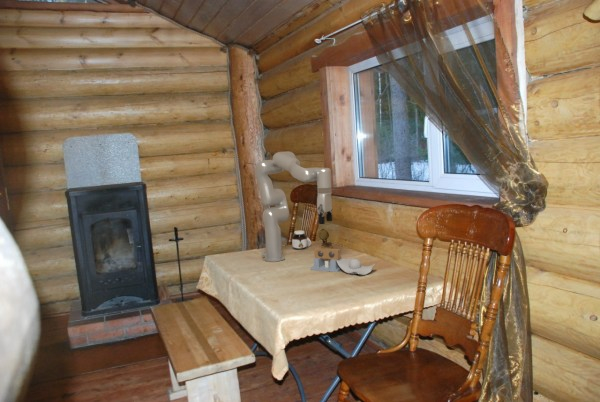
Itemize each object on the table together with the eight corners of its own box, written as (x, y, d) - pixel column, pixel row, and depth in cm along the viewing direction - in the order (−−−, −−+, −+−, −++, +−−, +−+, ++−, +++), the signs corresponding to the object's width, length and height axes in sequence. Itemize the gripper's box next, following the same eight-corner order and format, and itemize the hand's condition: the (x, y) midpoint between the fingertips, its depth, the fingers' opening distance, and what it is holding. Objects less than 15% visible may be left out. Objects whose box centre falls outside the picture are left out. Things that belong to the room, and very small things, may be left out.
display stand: (310, 269, 259) (310, 259, 258) (318, 265, 268) (318, 255, 267) (337, 272, 251) (337, 261, 251) (344, 267, 260) (344, 256, 259)
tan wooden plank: (314, 257, 260) (314, 249, 260) (317, 256, 263) (317, 247, 263) (338, 259, 254) (337, 250, 253) (340, 258, 257) (340, 249, 256)
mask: (356, 278, 239) (378, 275, 246) (357, 263, 238) (379, 261, 246) (333, 269, 255) (354, 267, 263) (333, 256, 255) (355, 254, 263)
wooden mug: (331, 257, 285) (330, 228, 283) (337, 263, 271) (335, 231, 269) (316, 259, 283) (315, 229, 281) (322, 264, 270) (320, 233, 268)
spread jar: (291, 250, 312) (290, 232, 310) (294, 246, 323) (293, 229, 322) (309, 249, 310) (308, 232, 308) (312, 246, 321) (311, 229, 319)
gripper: (324, 189, 264) (325, 219, 266) (311, 192, 249) (312, 224, 251) (337, 189, 261) (338, 220, 263) (324, 192, 245) (325, 225, 247)
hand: (325, 222), depth 257 cm, fingers open, 9 cm apart
